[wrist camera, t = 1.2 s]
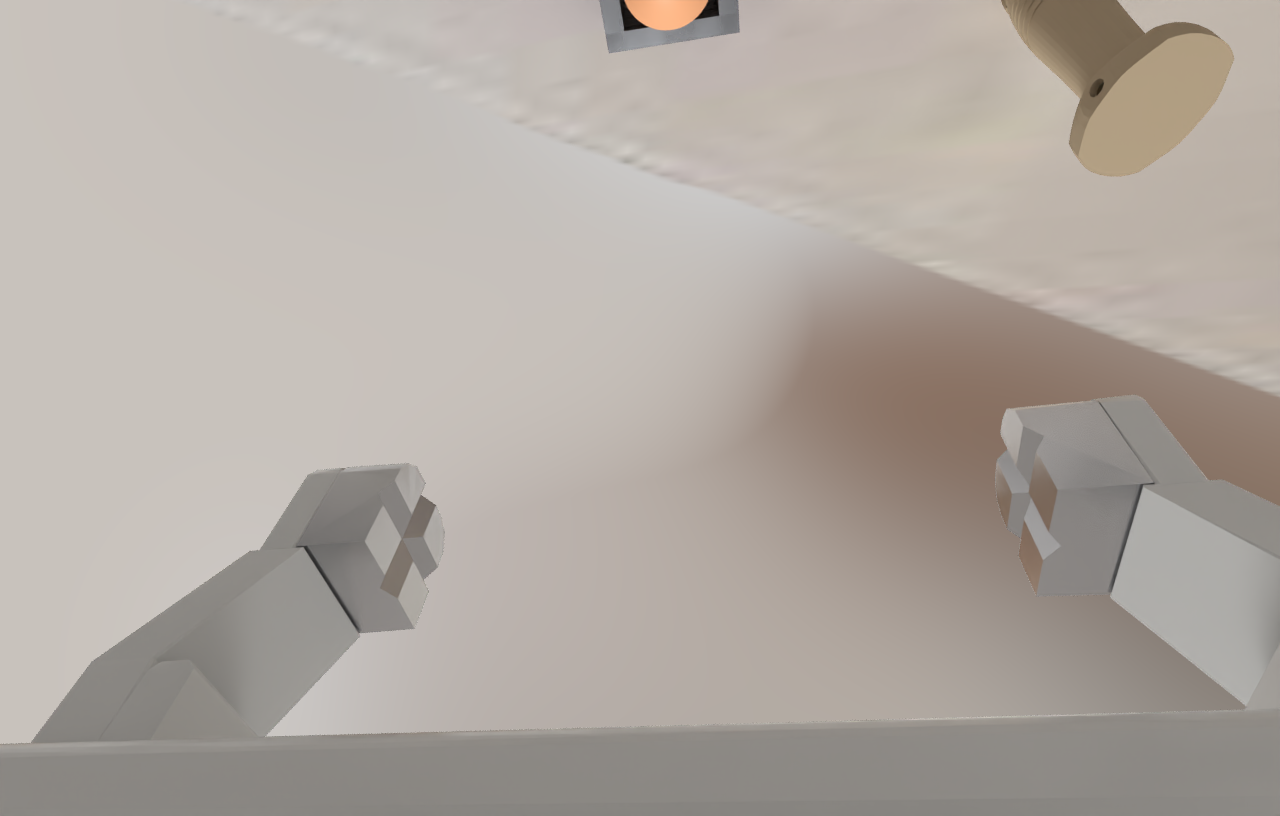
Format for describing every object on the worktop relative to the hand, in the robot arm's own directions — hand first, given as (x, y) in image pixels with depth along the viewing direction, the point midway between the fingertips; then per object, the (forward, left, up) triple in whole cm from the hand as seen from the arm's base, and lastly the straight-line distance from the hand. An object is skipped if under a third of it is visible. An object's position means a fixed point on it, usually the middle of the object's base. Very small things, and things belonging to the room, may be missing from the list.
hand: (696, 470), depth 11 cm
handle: (+11, +20, -39) cm, 46 cm away
